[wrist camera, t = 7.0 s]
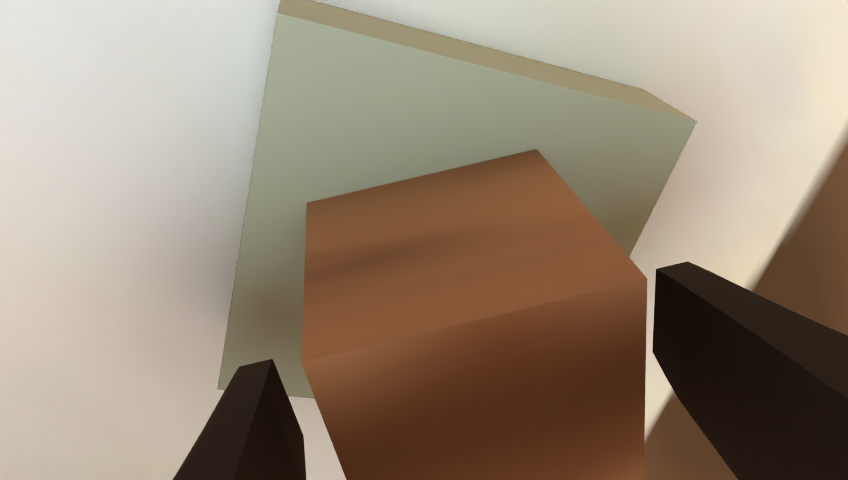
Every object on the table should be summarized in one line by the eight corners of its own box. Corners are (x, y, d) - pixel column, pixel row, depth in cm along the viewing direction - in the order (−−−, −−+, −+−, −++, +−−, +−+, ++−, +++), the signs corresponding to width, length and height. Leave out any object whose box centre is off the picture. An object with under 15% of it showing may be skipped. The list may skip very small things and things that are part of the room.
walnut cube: (553, 327, 15) (643, 496, 11) (361, 374, 15) (379, 564, 11) (536, 149, 13) (647, 278, 9) (306, 202, 13) (301, 362, 8)
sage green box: (516, 350, 20) (547, 419, 17) (231, 315, 17) (217, 389, 15) (634, 84, 16) (696, 121, 13) (284, -11, 13) (277, 12, 11)
